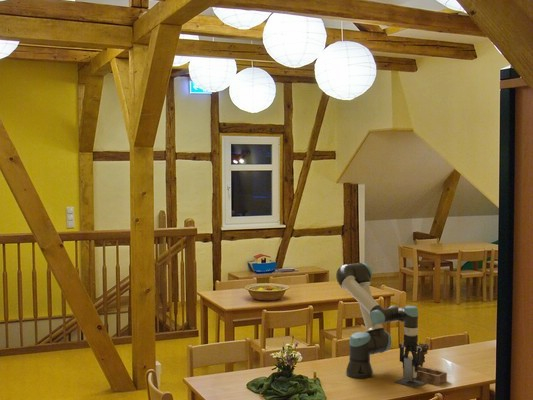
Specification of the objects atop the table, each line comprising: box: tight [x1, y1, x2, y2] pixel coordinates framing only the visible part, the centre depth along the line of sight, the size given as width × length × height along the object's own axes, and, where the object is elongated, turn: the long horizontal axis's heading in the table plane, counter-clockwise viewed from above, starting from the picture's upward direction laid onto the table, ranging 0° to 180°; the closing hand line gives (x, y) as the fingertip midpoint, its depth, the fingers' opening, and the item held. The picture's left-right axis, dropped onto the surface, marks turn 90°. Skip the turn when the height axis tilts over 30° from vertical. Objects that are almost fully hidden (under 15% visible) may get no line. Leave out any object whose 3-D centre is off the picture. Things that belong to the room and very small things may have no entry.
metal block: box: [403, 355, 417, 381], centre depth 376 cm, size 5×5×12 cm
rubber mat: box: [393, 376, 427, 389], centre depth 377 cm, size 14×10×1 cm
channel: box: [402, 365, 448, 386], centre depth 384 cm, size 22×9×5 cm, turn 47°
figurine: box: [416, 342, 430, 367], centre depth 400 cm, size 7×22×15 cm, turn 137°
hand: (410, 376), depth 377 cm, fingers closed on metal block, 5 cm apart
